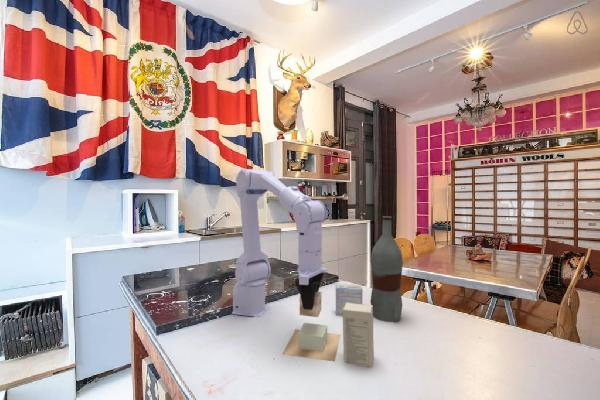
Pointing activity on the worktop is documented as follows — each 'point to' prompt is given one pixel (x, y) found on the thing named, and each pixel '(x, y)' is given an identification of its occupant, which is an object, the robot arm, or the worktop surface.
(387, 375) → the worktop surface
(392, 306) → the bottle
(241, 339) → the worktop surface
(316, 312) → the maple cube
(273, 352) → the worktop surface
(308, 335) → the sage block
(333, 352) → the cork mat
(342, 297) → the medicine box
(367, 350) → the skincare box
